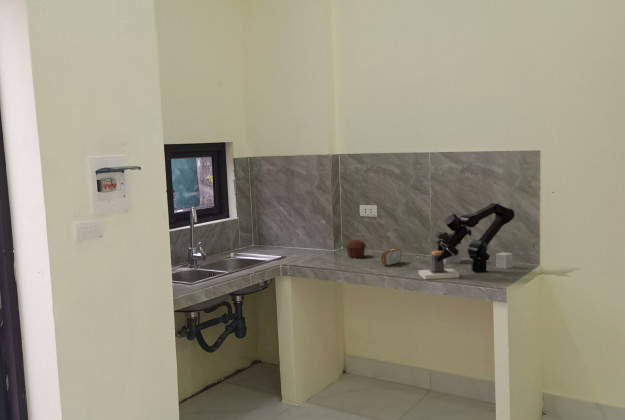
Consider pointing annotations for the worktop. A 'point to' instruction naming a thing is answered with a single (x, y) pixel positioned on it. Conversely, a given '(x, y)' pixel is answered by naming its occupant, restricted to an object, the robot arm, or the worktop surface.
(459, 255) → the toilet paper roll
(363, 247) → the muffin
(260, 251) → the worktop surface
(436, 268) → the plug
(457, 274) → the socket plate
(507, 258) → the product box
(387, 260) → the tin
